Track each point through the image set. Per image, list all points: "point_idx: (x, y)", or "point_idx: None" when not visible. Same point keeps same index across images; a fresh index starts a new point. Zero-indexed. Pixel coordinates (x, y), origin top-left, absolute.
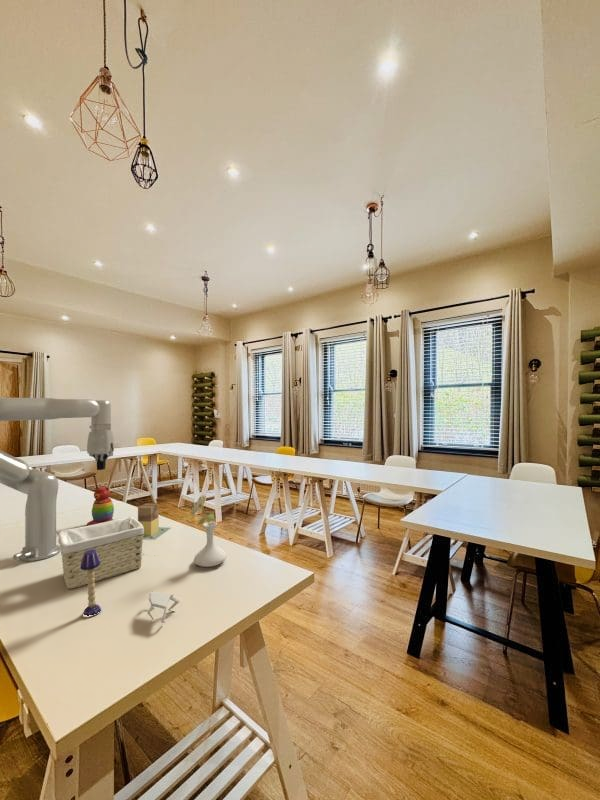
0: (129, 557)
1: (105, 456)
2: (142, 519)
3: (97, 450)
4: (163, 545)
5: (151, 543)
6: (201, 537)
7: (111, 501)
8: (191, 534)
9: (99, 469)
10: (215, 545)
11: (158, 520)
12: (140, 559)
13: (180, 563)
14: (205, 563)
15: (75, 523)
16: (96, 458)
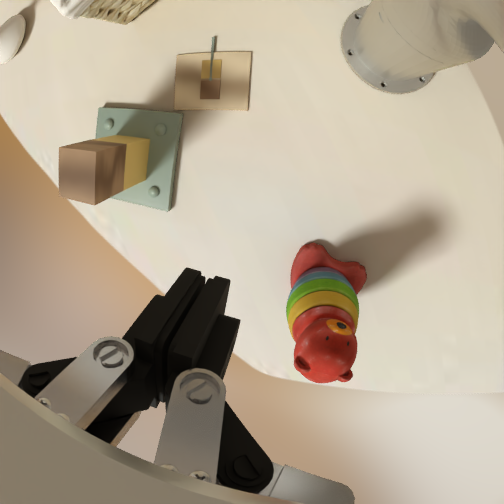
0: None
1: (36, 368)
2: (109, 143)
3: (20, 487)
4: (80, 89)
5: (107, 98)
6: (34, 140)
7: (291, 330)
8: (52, 158)
9: (195, 270)
10: None
11: None
12: None
13: (44, 22)
14: (12, 16)
15: (405, 302)
16: (196, 405)
